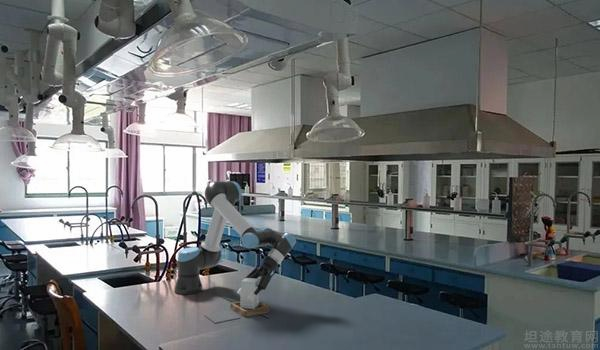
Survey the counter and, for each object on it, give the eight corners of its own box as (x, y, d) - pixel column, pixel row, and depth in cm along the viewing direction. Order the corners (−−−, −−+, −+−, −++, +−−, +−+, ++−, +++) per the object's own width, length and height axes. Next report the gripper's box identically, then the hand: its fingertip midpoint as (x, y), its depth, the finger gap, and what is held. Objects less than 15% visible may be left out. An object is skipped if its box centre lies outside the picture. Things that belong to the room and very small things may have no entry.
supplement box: (254, 309, 192) (255, 282, 192) (239, 308, 193) (240, 281, 193) (259, 304, 199) (259, 278, 199) (244, 303, 201) (245, 277, 201)
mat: (204, 315, 188) (204, 315, 188) (228, 311, 195) (228, 310, 195) (215, 323, 178) (215, 322, 178) (239, 318, 185) (240, 317, 185)
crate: (230, 308, 199) (230, 303, 199) (254, 304, 206) (254, 298, 206) (244, 317, 186) (244, 311, 186) (269, 312, 194) (269, 306, 194)
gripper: (290, 269, 196) (260, 307, 187) (266, 260, 214) (238, 295, 205) (280, 259, 193) (250, 298, 184) (257, 251, 211) (228, 286, 202)
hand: (244, 296), depth 195 cm, fingers closed on supplement box, 10 cm apart
